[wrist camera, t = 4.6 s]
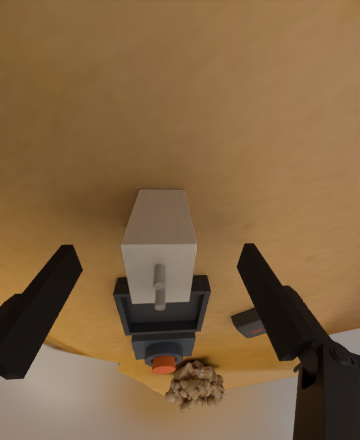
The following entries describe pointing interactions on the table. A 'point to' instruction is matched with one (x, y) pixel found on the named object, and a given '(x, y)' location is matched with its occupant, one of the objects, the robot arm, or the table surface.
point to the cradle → (163, 311)
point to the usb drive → (249, 323)
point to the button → (163, 365)
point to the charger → (159, 248)
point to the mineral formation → (195, 387)
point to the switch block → (163, 346)
